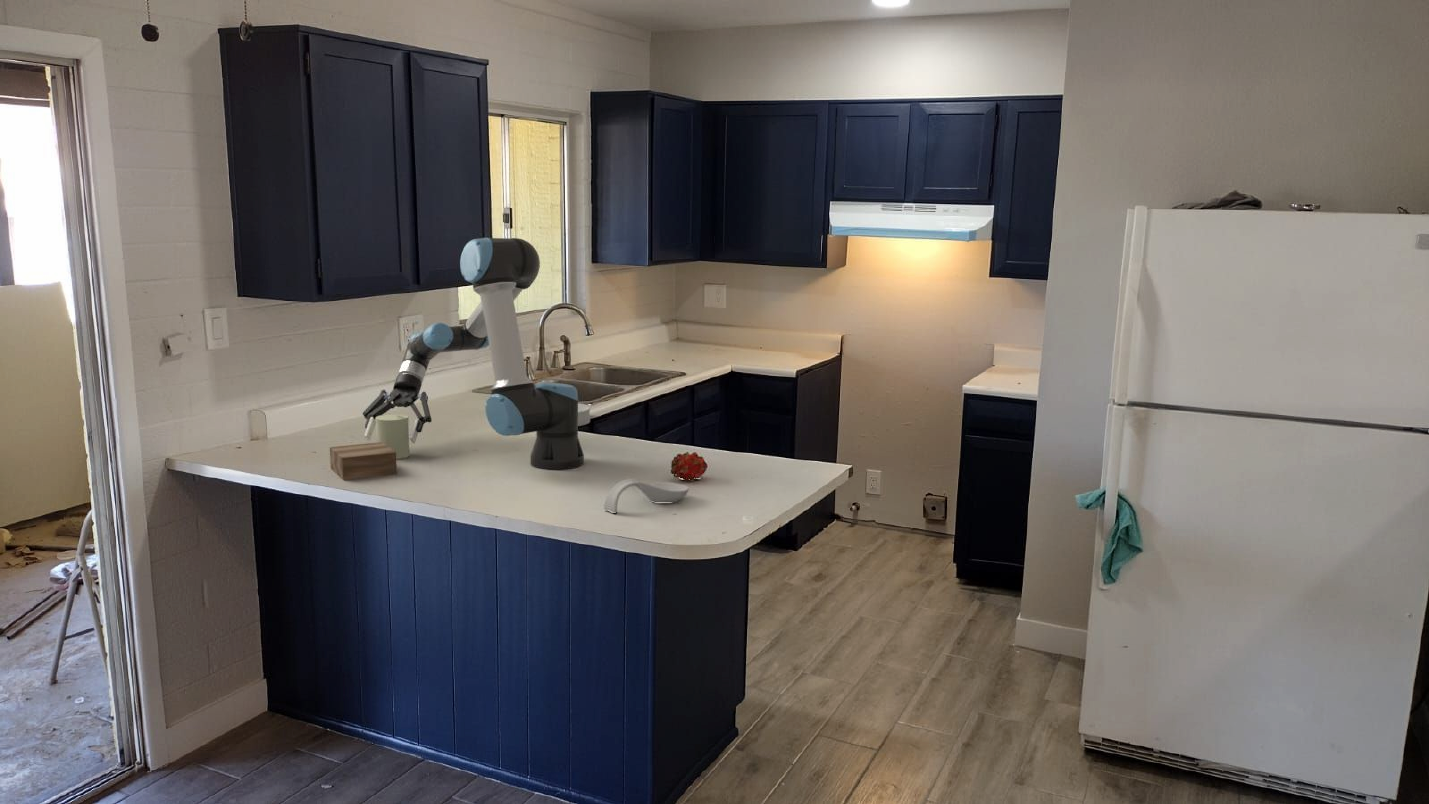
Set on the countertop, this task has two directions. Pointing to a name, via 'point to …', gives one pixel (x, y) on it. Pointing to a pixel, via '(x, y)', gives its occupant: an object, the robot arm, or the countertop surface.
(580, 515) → the countertop surface
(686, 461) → the red bumpy oval piece
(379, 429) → the can
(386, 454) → the walnut block
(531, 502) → the countertop surface
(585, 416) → the dish
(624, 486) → the spoon rest
